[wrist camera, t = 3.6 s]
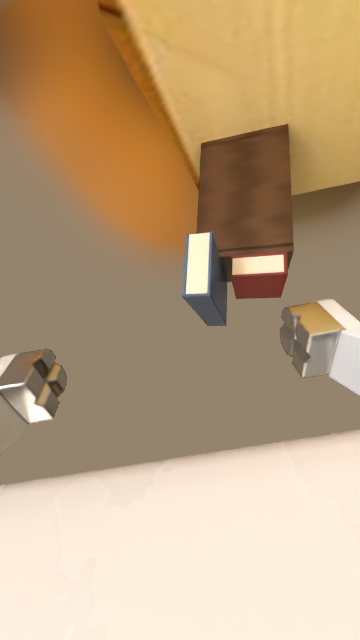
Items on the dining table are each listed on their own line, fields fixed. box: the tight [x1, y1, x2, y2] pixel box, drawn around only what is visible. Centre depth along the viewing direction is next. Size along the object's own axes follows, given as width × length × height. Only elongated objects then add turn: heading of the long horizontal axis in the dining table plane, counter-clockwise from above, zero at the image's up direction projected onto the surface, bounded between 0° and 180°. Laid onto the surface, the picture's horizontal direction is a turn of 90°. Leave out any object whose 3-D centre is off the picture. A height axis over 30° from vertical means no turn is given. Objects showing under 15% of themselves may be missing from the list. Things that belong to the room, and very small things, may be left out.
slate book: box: [182, 231, 227, 326], centre depth 45 cm, size 4×20×10 cm, turn 17°
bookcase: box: [197, 124, 294, 282], centre depth 51 cm, size 16×12×26 cm
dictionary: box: [231, 251, 288, 299], centre depth 46 cm, size 9×12×4 cm
